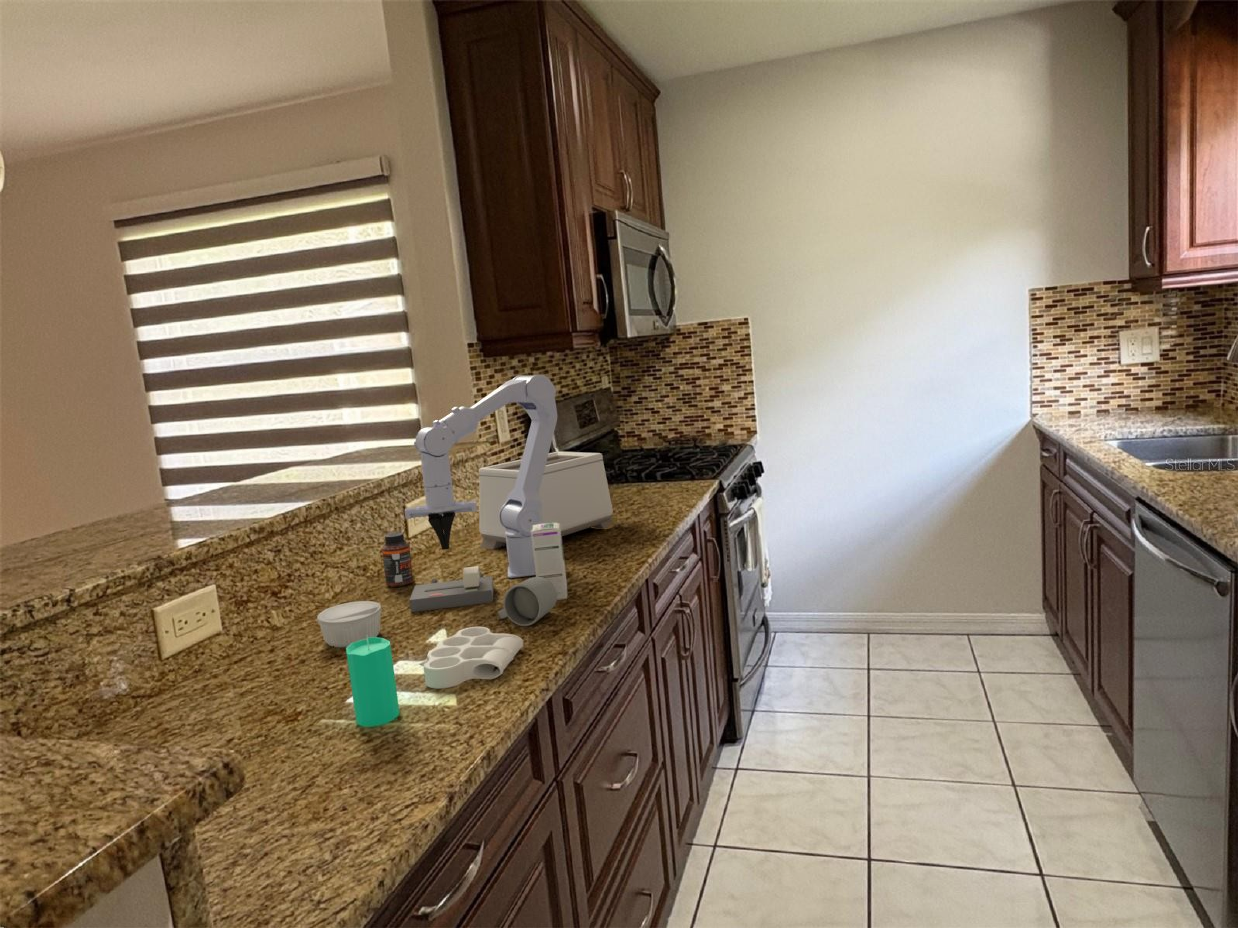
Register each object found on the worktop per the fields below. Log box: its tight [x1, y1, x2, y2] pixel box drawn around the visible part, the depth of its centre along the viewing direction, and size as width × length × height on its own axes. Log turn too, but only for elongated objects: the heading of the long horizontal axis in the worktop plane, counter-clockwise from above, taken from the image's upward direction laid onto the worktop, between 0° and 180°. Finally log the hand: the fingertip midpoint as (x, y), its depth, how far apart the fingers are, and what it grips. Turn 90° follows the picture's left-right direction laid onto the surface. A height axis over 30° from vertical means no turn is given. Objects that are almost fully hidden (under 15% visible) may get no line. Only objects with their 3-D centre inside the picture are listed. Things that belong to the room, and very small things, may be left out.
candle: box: [345, 635, 401, 728], centre depth 110 cm, size 6×6×12 cm
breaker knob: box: [462, 565, 480, 588], centre depth 162 cm, size 3×5×3 cm, turn 8°
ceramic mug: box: [497, 576, 558, 627], centre depth 146 cm, size 11×8×8 cm
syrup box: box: [531, 522, 568, 601], centre depth 157 cm, size 6×6×14 cm
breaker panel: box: [409, 572, 495, 613], centre depth 166 cm, size 16×19×3 cm
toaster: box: [478, 451, 615, 550], centre depth 209 cm, size 19×34×21 cm, turn 138°
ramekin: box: [316, 600, 383, 648], centre depth 144 cm, size 11×11×5 cm
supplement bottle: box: [381, 532, 414, 588], centre depth 176 cm, size 6×6×11 cm
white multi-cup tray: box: [418, 626, 524, 689], centre depth 127 cm, size 3×18×15 cm
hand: (445, 548), depth 166 cm, fingers closed
